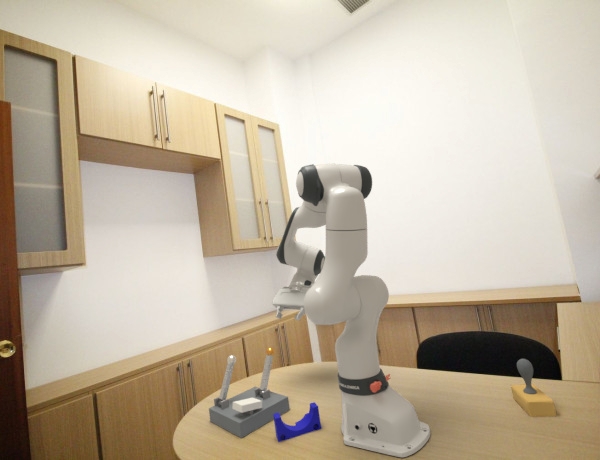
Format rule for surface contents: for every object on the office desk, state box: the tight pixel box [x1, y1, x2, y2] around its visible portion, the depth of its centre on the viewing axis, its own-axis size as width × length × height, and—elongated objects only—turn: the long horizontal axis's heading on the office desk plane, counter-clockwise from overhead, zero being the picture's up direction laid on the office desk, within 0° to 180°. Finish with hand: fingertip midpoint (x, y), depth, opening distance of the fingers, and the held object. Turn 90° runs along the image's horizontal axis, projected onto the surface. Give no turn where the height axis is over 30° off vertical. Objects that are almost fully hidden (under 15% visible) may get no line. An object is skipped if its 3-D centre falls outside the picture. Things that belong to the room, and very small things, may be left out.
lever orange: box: [258, 346, 276, 396], centre depth 105 cm, size 3×3×15 cm
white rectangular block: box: [232, 398, 262, 413], centre depth 93 cm, size 5×7×2 cm
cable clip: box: [273, 401, 322, 443], centre depth 86 cm, size 12×4×6 cm, turn 106°
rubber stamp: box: [510, 358, 557, 418], centre depth 81 cm, size 10×6×12 cm, turn 166°
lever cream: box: [217, 354, 237, 406], centre depth 103 cm, size 3×3×15 cm
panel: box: [208, 386, 291, 439], centre depth 100 cm, size 18×18×6 cm
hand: (287, 318), depth 116 cm, fingers open, 8 cm apart
